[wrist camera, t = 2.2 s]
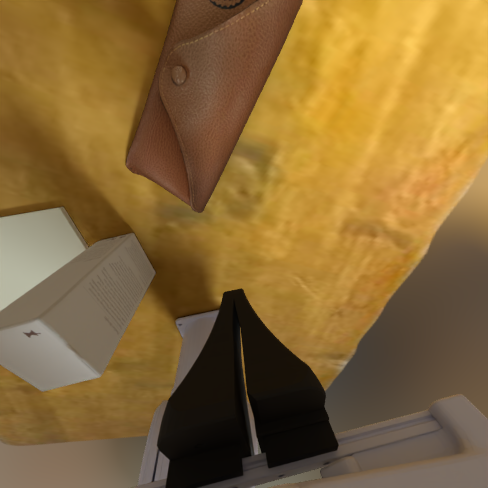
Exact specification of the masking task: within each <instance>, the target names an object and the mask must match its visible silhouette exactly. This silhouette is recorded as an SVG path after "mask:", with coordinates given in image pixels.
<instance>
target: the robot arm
mask: <svg viewBox="0 0 488 488" xmlns="http://www.w3.org/2000/svg"><path fill="white" fill-rule="evenodd" d="M176 325H177V327H178V329H179V331H180V333H181V335H182V338H183V342H182V347H181V352H180V357H179V363H178V368H177V373H176V378H175V384H174V388H173V389H172V392H171V397H170V398H169V400H164V401H162V403H161V404H160V405H159V406H158V407H157V409H156V410H155V413H154V416H153V420H152V423H151V427H150V431H149V435H148V439H147V443H146V447H145V451H144V456H143V461H142V465H141V470H140V475H139V481H138V486H136V487H131V488H255V486H256V485H260V484H264V483H267V482H271V481H275V480H278V479H282V478H286V477H289V476H292V475H297V474H300V473H304V472H308V471H311V470H315V469H318V468H322V467H324V468H322V469H321V471H320V473H321V476H322V479H316V480H311V481H305V482H299V483H294V484H282V485H277V486H273V487H269V488H488V419H487V418H486V417H485V416H484V415H483V414H482V413H481V412H480V411H479V410H478V409H477V408H476V407H475V406H474V405H473V404H472V403H471V402H470V401H468V399H467V398H465V396H463V395H461V394H458V395H454V396H450V397H446V398H442V399H439V400H436V401H434V402H433V403H431V404H430V406H429V408H428V410H426V411H421V412H418V413H414V414H410V415H406V416H402V417H399V418H395V419H391V420H387V421H383V422H380V423H376V424H372V425H368V426H364V427H360V428H356V429H353V430H349V431H345V432H341V433H338V434H334V432H333V430H332V428H331V425H330V423H329V421H328V420H329V417H328V414H327V412H326V410H325V407H324V405H325V398H326V395H325V391H324V389H323V387H322V385H321V383H320V382H319V380H318V378H317V377H316V375H315V374H314V373H313V371H312V370H311V368H310V367H309V366H308V365H307V364H305V363H304V362H303V361H302V360H300V359H299V358H298V357H297V356H296V355H294V354H293V353H292V352H291V351H290V350H289V349H287V348H286V347H285V346H284V345H283V344H282V343H281V342H280V341H279V340H278V339H277V338H276V337H275V336H274V335H273V334H272V333H271V332H270V330H269V329H268V328H267V327H266V326H265V325H264V323H263V322H262V321H261V320H260V318H259V317H258V316H257V314H256V313H255V311H254V310H253V308H252V307H251V305H250V303H249V302H248V300H247V298H246V296H245V293H244V290H243V289H237V290H232V291H227V292H224V293H223V298H222V302H221V306H220V309H219V310H216V311H211V312H206V313H202V314H197V315H192V316H188V317H183V318H178V319H176ZM240 328H241V337H242V346H243V355H244V365H245V375H246V386H247V394H248V398H249V401H250V404H249V403H248V401H247V398H246V391H245V384H244V376H243V369H242V359H241V339H240ZM257 439H258V440H257ZM257 441H258V442H259V445H260V449H261V454H258V442H257Z"/></svg>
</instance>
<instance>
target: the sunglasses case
mask: <svg viewBox="0 0 488 488" xmlns="http://www.w3.org/2000/svg"><path fill="white" fill-rule="evenodd" d="M302 1H303V0H176V5H175V8H174V12H173V15H172V19H171V22H170V26H169V29H168V33H167V37H166V39H165V43H164V46H163V50H162V53H161V56H160V60H159V63H158V67H157V69H156V73H155V75H154V79H153V83H152V85H151V88H150V92H149V95H148V99H147V102H146V105H145V108H144V111H143V114H142V117H141V120H140V123H139V126H138V128H137V131H136V134H135V137H134V140H133V142H132V145H131V147H130V151H129V153H128V156H127V161H126V167H127V168H128V169H129V170H130V171H131V172H133V173H136V174H138V175H142V176H144V177H146V178H148V179H150V180H151V181H153V182H155V183H157V184H158V185H160V186H161V187H163V188H164V189H166V190H167V191H169V192H170V193H172V194H173V195H175V196H176V197H178V198H179V199H181V200H182V201H184V202H185V203H187V204H188V205H190V206H191V207H192V209H193V210H194V211H196V212H199V213H201V212H203V210H204V208H205V206H206V204H207V202H208V201H209V199H210V197H211V195H212V193H213V191H214V189H215V187H216V185H217V183H218V181H219V179H220V177H221V175H222V172H223V170H224V168H225V166H226V164H227V162H228V160H229V158H230V156H231V154H232V152H233V150H234V147H235V145H236V143H237V141H238V139H239V137H240V135H241V133H242V131H243V129H244V127H245V124H246V123H247V120H248V118H249V116H250V114H251V112H252V110H253V108H254V106H255V104H256V102H257V99H258V97H259V95H260V93H261V91H262V89H263V87H264V85H265V83H266V81H267V79H268V77H269V75H270V72H271V70H272V68H273V66H274V64H275V62H276V60H277V57H278V56H279V53H280V51H281V49H282V47H283V45H284V43H285V40H286V38H287V36H288V33H289V31H290V29H291V27H292V25H293V22H294V20H295V18H296V15H297V13H298V11H299V9H300V6H301V5H302Z"/></svg>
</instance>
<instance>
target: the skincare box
mask: <svg viewBox="0 0 488 488" xmlns="http://www.w3.org/2000/svg"><path fill="white" fill-rule="evenodd" d="M155 274H156V272H155V270H154V269H153V267H152V265H151V263H150V262H149V260H148V258H147V256H146V254H145V252H144V251H143V249H142V247H141V245H140V243H139V242H138V240H137V238H136V236H135V234H134V233H130V234H126V235H122V236H118V237H114V238H109V239H105V240H101V241H98V242H96V243H95V244H93V245H92V246H91V247H89V248H88V249H86V250H85V251H83V252H82V253H81V254H79V255H78V256H77V257H75V258H74V259H72V260H71V261H69V262H68V263H67V264H65V265H64V266H63V267H61V268H60V269H58V270H57V271H56V272H54V273H53V274H51V275H50V276H49V277H47V278H46V279H45V280H43V281H42V282H40V283H39V284H38V285H36V286H35V287H33V288H32V289H30V290H29V291H28V292H26V293H25V294H24V295H22V296H21V297H19V298H18V299H17V300H15V301H14V302H12V303H11V304H10V305H8V306H7V307H6V308H4V309H3V310H1V311H0V365H2V366H3V367H5V368H6V369H8V370H9V371H11V372H13V373H14V374H16V375H17V376H19V377H20V378H22V379H23V380H25V381H27V382H28V383H30V384H31V385H33V386H34V387H36V388H38V389H39V390H40V391H47V390H51V389H55V388H59V387H62V386H66V385H70V384H74V383H78V382H82V381H86V380H90V379H94V378H98V377H100V376H101V375H102V374H103V372H104V370H105V368H106V366H107V364H108V362H109V360H110V358H111V357H112V355H113V353H114V351H115V349H116V347H117V345H118V343H119V341H120V339H121V338H122V336H123V334H124V332H125V330H126V328H127V326H128V324H129V322H130V321H131V319H132V317H133V315H134V313H135V311H136V309H137V308H138V306H139V304H140V302H141V300H142V298H143V296H144V294H145V293H146V291H147V289H148V287H149V285H150V283H151V281H152V280H153V278H154V276H155Z"/></svg>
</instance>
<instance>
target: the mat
mask: <svg viewBox="0 0 488 488" xmlns="http://www.w3.org/2000/svg"><path fill="white" fill-rule="evenodd" d="M88 248H89V247H88V245H87V244H86V242H85V240H84V239H83V237H82V236H81V234H80V232H79V231H78V229H77V228H76V226H75V224H74V223H73V221H72V220H71V218H70V216H69V215H68V213H67V212H66V210H65V208H64V207H58V208H52V209H46V210H40V211H34V212H28V213H23V214H17V215H11V216H5V217H0V311H1V310H3V309H4V308H6V307H7V306H8V305H10V304H11V303H12V302H14V301H15V300H17V299H18V298H19V297H21V296H22V295H24V294H25V293H26V292H28V291H29V290H30V289H32V288H33V287H35V286H36V285H38V284H39V283H40V282H42V281H43V280H45V279H46V278H47V277H49V276H50V275H51V274H53V273H54V272H56V271H57V270H58V269H60V268H61V267H63V266H64V265H65V264H67V263H68V262H69V261H71V260H72V259H74V258H75V257H77V256H78V255H79V254H81V253H82V252H83V251H85V250H86V249H88Z"/></svg>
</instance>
